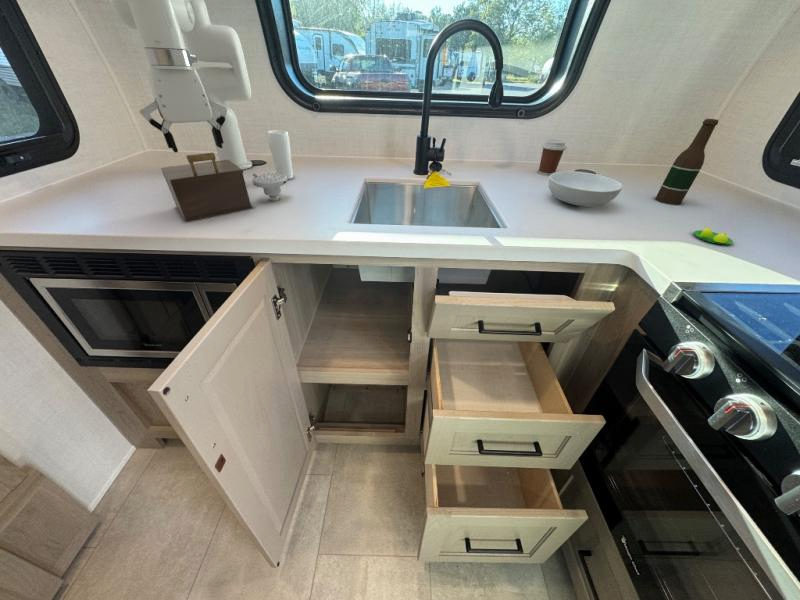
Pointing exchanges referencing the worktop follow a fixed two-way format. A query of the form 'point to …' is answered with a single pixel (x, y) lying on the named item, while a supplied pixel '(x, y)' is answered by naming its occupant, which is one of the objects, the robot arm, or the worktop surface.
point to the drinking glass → (281, 152)
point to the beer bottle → (686, 167)
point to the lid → (200, 168)
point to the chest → (210, 196)
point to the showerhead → (270, 184)
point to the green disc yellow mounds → (713, 236)
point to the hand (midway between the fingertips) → (198, 149)
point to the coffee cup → (551, 156)
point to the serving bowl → (583, 188)
